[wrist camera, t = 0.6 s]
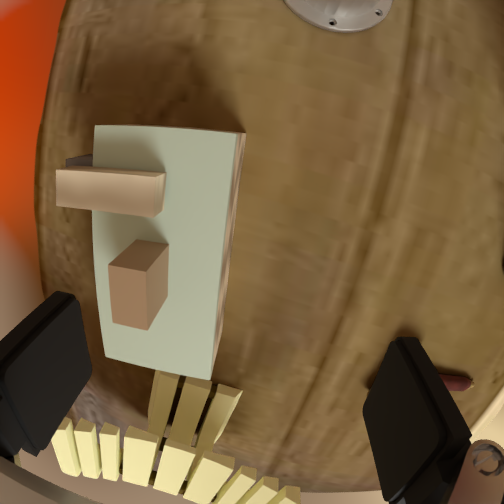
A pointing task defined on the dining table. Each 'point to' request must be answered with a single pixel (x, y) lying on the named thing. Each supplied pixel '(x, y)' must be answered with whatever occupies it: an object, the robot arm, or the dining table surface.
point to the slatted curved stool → (171, 448)
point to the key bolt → (111, 190)
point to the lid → (164, 248)
